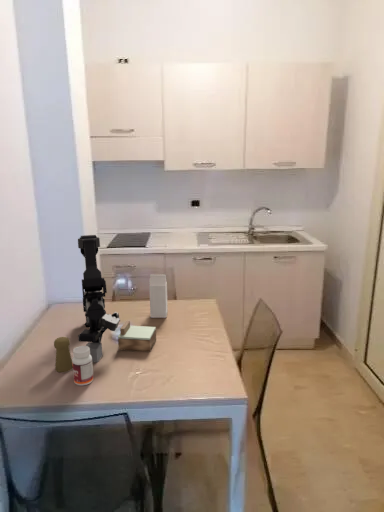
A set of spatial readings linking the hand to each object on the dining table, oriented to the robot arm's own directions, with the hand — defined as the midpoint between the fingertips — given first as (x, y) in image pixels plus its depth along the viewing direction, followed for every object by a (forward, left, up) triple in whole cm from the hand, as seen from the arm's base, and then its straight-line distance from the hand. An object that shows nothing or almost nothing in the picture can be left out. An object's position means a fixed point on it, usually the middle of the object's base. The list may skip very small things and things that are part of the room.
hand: (97, 348), depth 151 cm
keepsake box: (+13, +8, -2) cm, 15 cm away
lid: (+13, +8, +3) cm, 16 cm away
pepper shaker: (-8, -12, -2) cm, 14 cm away
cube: (0, -5, -2) cm, 5 cm away
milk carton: (+14, +38, -2) cm, 41 cm away
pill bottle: (+2, -19, -2) cm, 19 cm away
